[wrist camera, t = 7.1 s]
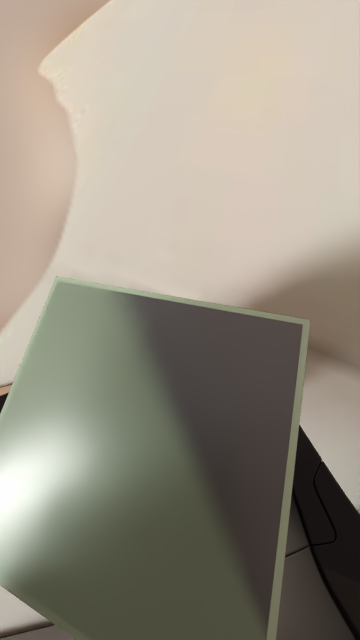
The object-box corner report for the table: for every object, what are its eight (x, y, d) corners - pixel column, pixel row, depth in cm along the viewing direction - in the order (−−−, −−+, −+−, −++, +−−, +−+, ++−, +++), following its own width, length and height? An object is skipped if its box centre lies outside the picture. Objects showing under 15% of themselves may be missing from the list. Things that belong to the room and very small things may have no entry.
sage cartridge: (222, 426, 14) (261, 772, 2) (158, 405, 15) (-54, 546, 3) (235, 357, 15) (310, 320, 3) (174, 343, 16) (56, 276, 4)
